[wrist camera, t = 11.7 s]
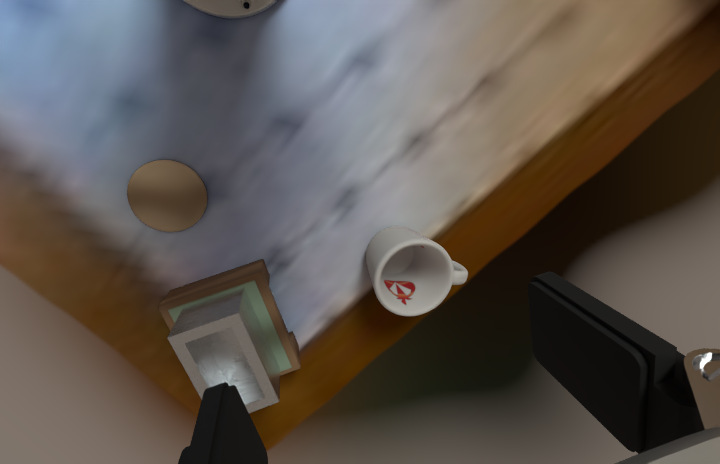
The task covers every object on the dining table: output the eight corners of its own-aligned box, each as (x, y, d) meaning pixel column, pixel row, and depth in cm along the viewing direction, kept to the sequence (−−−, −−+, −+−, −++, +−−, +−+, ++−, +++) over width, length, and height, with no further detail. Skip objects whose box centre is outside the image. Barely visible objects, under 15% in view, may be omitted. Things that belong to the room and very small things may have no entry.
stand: (169, 288, 39) (156, 308, 35) (262, 257, 40) (260, 272, 36) (215, 377, 43) (209, 403, 39) (299, 346, 44) (300, 369, 40)
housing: (182, 308, 35) (167, 337, 30) (244, 287, 36) (238, 312, 31) (224, 388, 39) (216, 425, 34) (279, 367, 39) (279, 401, 34)
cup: (453, 225, 43) (490, 247, 36) (438, 287, 45) (469, 321, 38) (364, 213, 40) (383, 235, 33) (352, 280, 43) (367, 315, 35)
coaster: (114, 172, 34) (113, 173, 34) (189, 150, 35) (188, 150, 35) (149, 240, 37) (148, 241, 36) (218, 217, 37) (218, 218, 37)
